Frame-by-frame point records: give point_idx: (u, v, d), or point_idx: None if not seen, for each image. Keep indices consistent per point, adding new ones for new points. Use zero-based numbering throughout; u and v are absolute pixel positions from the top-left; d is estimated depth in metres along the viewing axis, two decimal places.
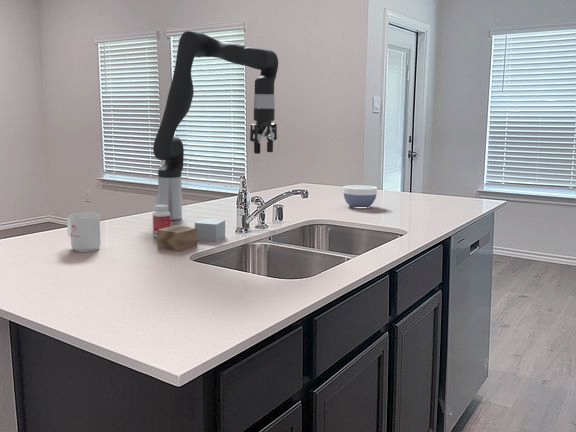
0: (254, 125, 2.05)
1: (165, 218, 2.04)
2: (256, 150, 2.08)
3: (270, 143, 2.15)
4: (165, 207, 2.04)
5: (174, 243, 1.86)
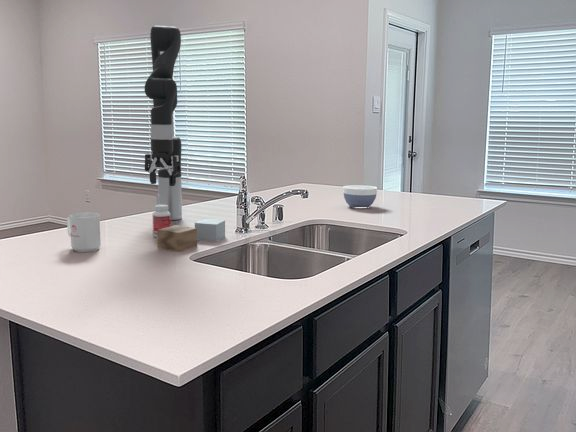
0: (178, 157, 1.99)
1: (165, 218, 2.04)
2: (174, 182, 2.01)
3: (154, 174, 2.06)
4: (165, 207, 2.04)
5: (174, 243, 1.86)
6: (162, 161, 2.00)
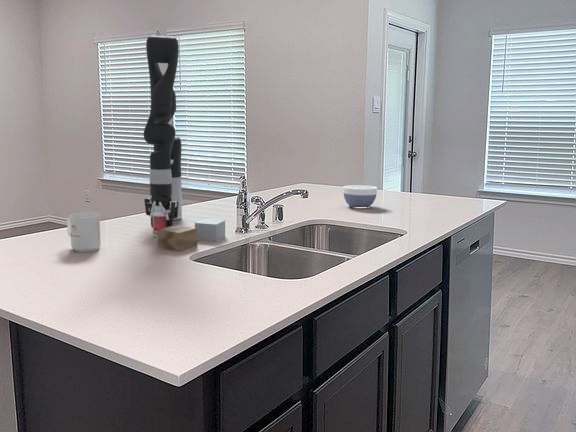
0: (176, 203, 2.02)
1: (165, 218, 2.04)
2: None
3: None
4: None
5: (174, 243, 1.86)
6: (161, 205, 2.03)
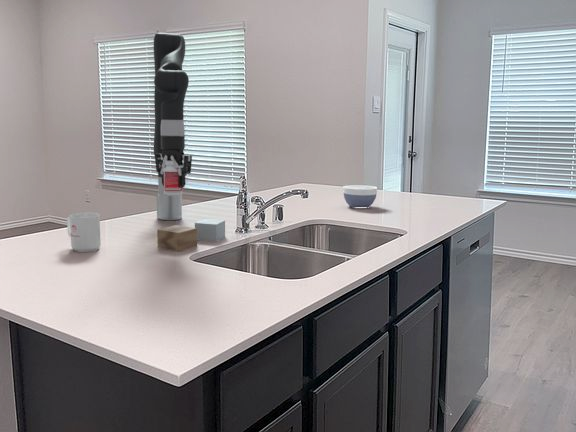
0: (190, 156, 1.85)
1: (178, 174, 1.87)
2: (184, 183, 1.88)
3: None
4: None
5: (174, 243, 1.86)
6: (173, 159, 1.86)
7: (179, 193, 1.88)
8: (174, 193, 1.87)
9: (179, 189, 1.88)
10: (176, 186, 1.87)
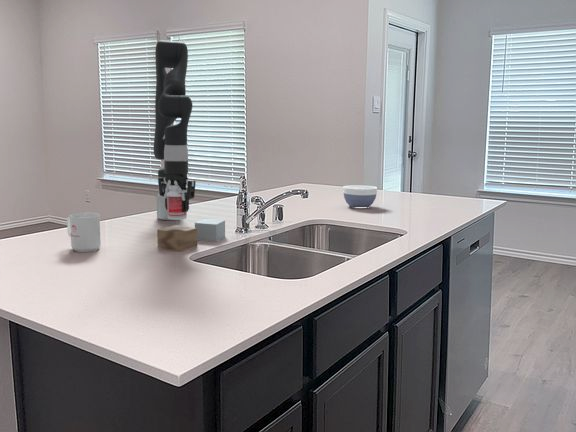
0: (193, 182, 1.85)
1: (181, 198, 1.87)
2: (187, 208, 1.88)
3: None
4: None
5: (174, 243, 1.86)
6: (176, 184, 1.86)
7: (182, 218, 1.88)
8: (178, 218, 1.87)
9: (182, 214, 1.88)
10: (180, 211, 1.87)
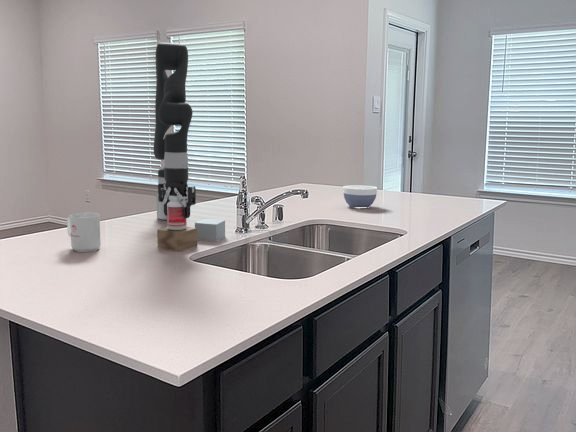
0: (193, 188, 1.85)
1: (181, 209, 1.88)
2: (189, 214, 1.88)
3: None
4: None
5: (174, 243, 1.86)
6: (176, 191, 1.86)
7: (182, 228, 1.89)
8: (177, 228, 1.88)
9: (182, 224, 1.89)
10: (179, 221, 1.88)
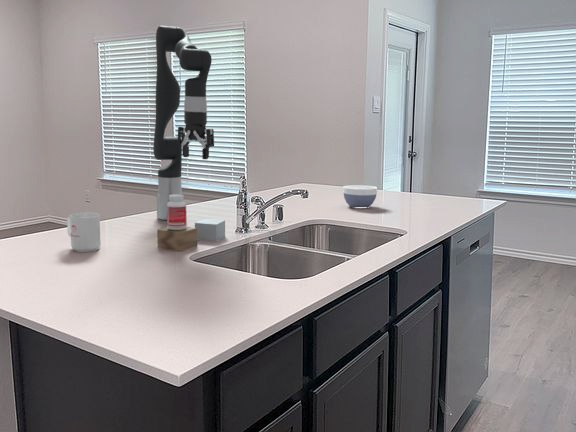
0: (211, 130, 1.97)
1: (181, 209, 1.88)
2: (207, 155, 1.99)
3: (187, 147, 2.03)
4: (181, 197, 1.88)
5: (174, 243, 1.86)
6: (195, 134, 1.98)
7: (182, 228, 1.89)
8: (177, 228, 1.88)
9: (182, 224, 1.89)
10: (180, 221, 1.88)
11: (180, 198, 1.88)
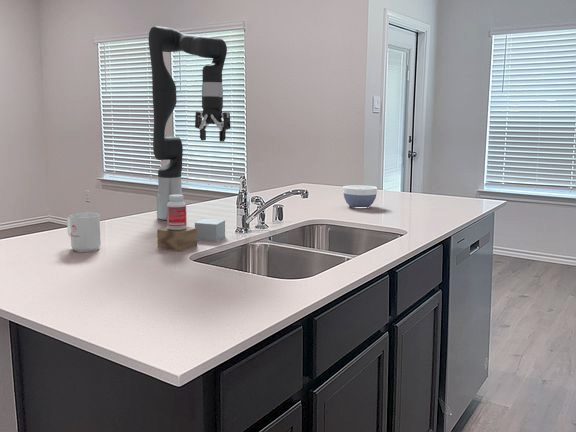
0: (228, 113, 2.08)
1: (181, 209, 1.88)
2: (224, 138, 2.11)
3: (204, 131, 2.15)
4: (181, 197, 1.88)
5: (174, 243, 1.86)
6: (213, 117, 2.09)
7: (182, 228, 1.89)
8: (177, 228, 1.88)
9: (182, 224, 1.89)
10: (179, 221, 1.88)
11: (180, 198, 1.88)
